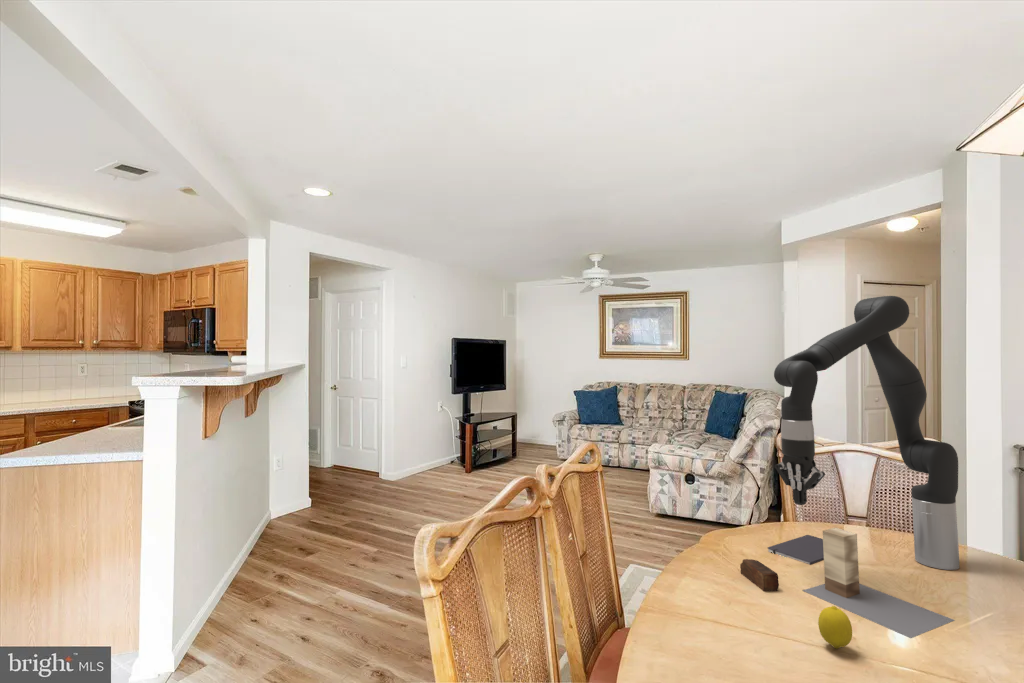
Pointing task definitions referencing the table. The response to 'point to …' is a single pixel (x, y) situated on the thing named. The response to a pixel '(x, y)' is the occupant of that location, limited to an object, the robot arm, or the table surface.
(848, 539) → the tall block
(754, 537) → the table surface
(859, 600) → the rubber mat
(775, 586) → the brick
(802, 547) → the notebook
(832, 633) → the lemon
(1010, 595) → the table surface
